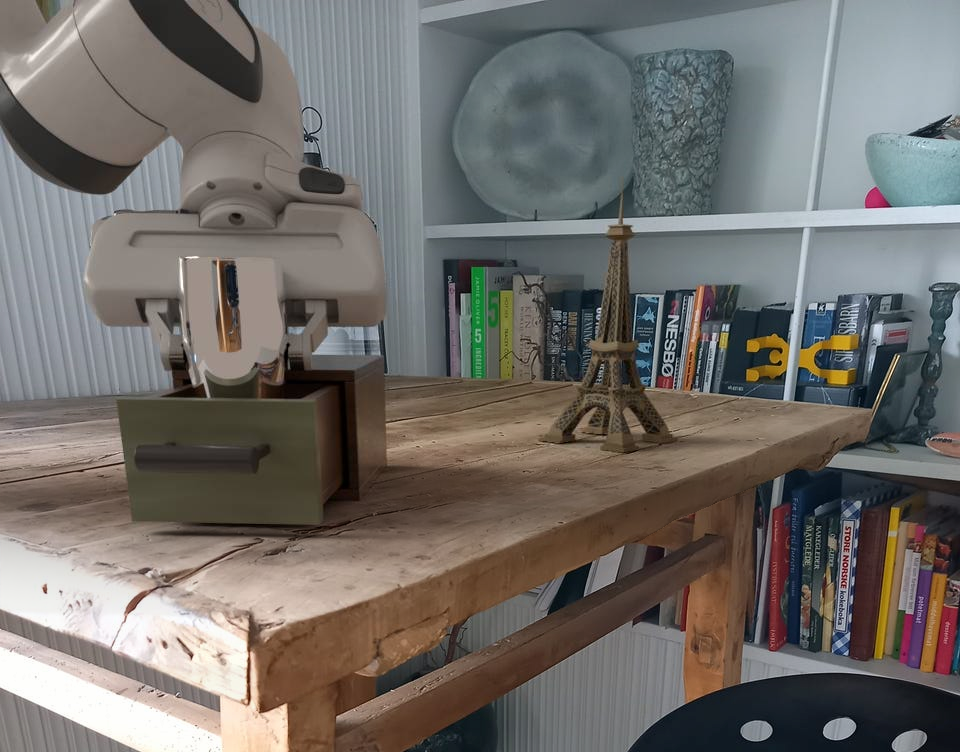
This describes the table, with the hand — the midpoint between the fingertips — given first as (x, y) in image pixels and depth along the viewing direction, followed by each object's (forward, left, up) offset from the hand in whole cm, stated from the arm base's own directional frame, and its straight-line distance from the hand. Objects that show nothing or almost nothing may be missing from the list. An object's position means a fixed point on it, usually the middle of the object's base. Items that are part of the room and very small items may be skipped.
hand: (238, 364), depth 62 cm
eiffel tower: (+28, +37, -11) cm, 47 cm away
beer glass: (0, +1, -9) cm, 9 cm away
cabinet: (0, +14, -10) cm, 17 cm away
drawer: (0, -1, -9) cm, 9 cm away
